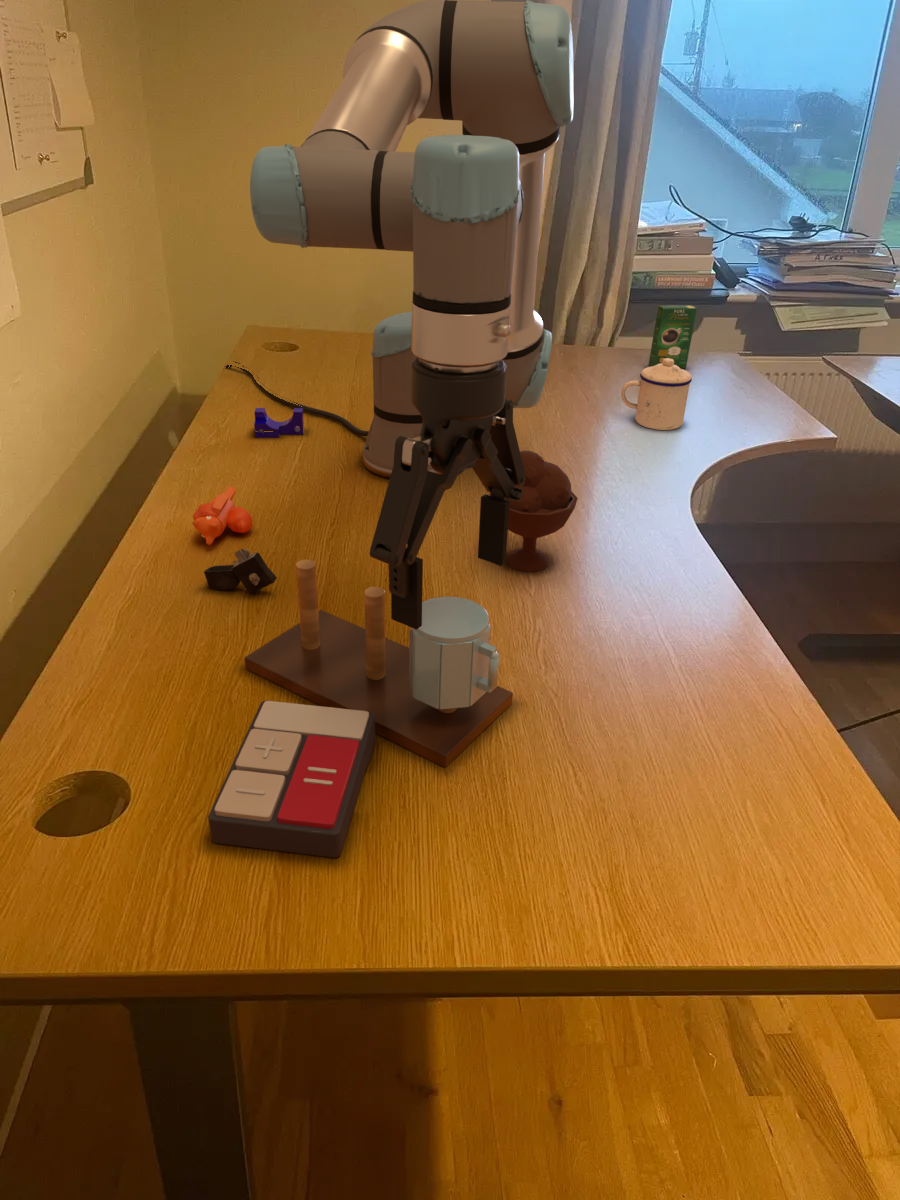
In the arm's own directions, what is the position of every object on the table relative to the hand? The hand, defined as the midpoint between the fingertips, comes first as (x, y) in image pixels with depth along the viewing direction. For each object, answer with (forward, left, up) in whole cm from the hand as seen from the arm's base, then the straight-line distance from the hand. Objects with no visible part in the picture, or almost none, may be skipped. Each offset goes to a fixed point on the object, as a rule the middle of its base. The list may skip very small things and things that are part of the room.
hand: (451, 590), depth 81 cm
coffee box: (-30, +127, -15) cm, 131 cm away
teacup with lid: (-19, +93, -15) cm, 96 cm away
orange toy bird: (-47, +15, -15) cm, 51 cm away
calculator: (-5, -16, -15) cm, 23 cm away
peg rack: (-9, 0, -15) cm, 17 cm away
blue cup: (0, 0, -11) cm, 11 cm away
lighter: (-34, +5, -15) cm, 37 cm away
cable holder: (-67, +46, -15) cm, 83 cm away
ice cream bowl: (-10, +33, -15) cm, 37 cm away
